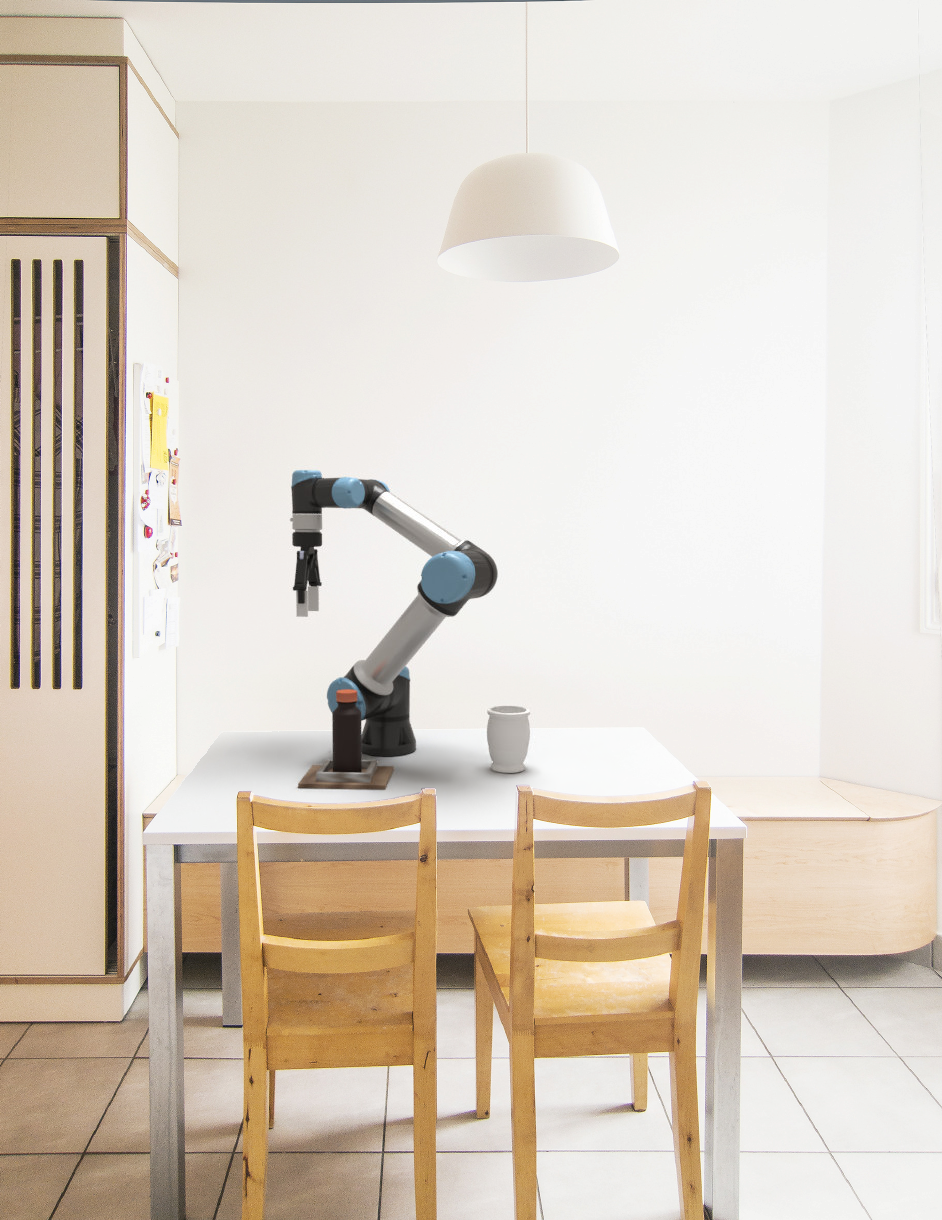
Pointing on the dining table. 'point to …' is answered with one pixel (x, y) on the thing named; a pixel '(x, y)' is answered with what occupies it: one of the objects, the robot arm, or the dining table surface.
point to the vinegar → (347, 733)
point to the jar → (508, 737)
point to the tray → (347, 777)
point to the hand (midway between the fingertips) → (308, 613)
